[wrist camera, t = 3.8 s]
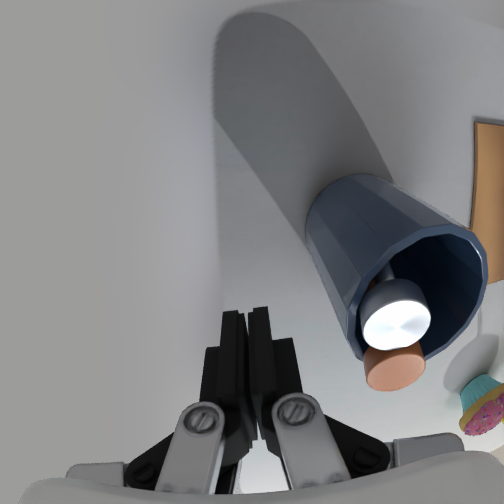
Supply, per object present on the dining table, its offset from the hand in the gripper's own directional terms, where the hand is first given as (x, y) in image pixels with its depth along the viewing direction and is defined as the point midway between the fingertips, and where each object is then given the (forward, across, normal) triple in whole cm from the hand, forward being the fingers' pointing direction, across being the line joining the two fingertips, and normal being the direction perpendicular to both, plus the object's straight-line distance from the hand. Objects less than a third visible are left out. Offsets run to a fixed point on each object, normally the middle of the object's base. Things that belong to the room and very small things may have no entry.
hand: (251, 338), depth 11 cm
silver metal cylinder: (+8, -7, -2) cm, 11 cm away
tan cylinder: (+8, -7, +1) cm, 11 cm away
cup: (+9, -7, 0) cm, 11 cm away
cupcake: (+9, -26, +24) cm, 37 cm away
